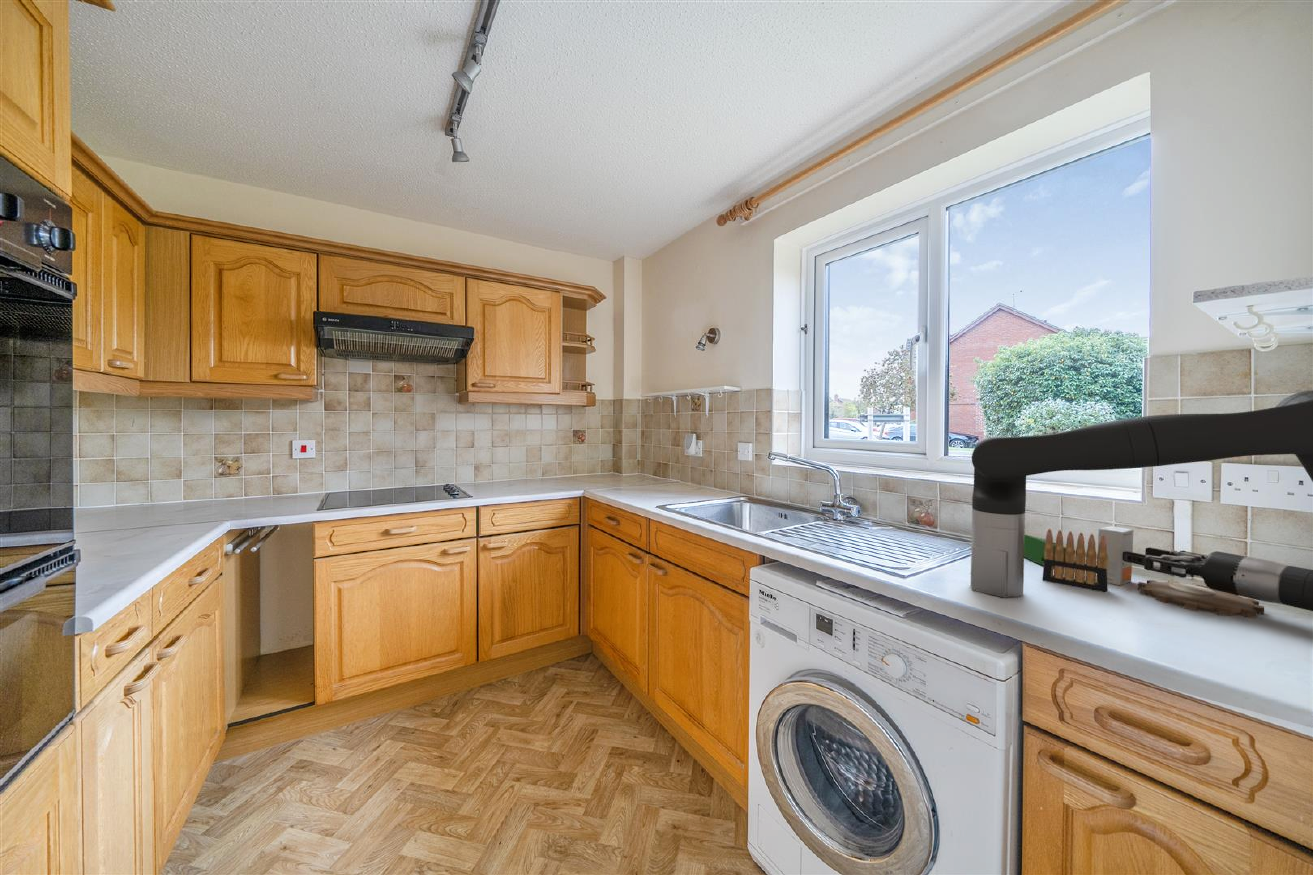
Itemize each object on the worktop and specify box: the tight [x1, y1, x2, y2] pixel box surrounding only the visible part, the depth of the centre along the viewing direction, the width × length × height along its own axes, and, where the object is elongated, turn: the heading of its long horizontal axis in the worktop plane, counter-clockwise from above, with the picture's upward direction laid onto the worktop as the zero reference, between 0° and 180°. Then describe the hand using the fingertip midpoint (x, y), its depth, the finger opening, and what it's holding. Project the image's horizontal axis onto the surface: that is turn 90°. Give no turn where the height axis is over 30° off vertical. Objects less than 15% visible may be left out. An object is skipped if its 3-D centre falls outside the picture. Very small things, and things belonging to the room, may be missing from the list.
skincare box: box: [1097, 525, 1134, 586], centre depth 106 cm, size 6×4×12 cm
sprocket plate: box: [1137, 579, 1265, 618], centre depth 95 cm, size 17×17×1 cm
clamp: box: [1024, 534, 1066, 568], centre depth 120 cm, size 12×6×9 cm, turn 165°
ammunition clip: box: [1042, 528, 1109, 594], centre depth 103 cm, size 11×2×12 cm, turn 45°
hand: (1135, 553), depth 102 cm, fingers open, 8 cm apart
